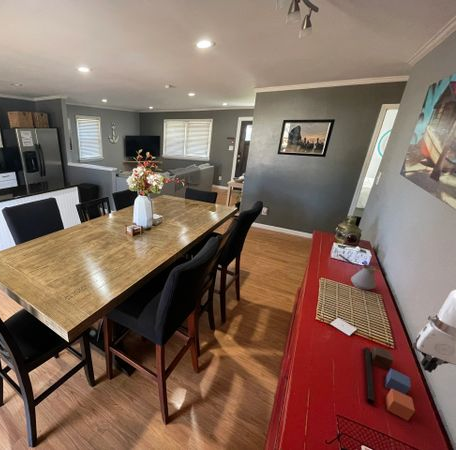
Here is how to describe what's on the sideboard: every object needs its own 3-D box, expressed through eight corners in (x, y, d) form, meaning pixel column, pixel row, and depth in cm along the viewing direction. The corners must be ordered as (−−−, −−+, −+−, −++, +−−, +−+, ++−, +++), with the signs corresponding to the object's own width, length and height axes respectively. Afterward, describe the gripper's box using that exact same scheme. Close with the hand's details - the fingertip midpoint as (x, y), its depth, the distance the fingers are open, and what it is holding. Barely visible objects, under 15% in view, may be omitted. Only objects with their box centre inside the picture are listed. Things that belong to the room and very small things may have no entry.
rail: (368, 352, 99) (370, 348, 98) (372, 405, 80) (374, 401, 79) (363, 350, 100) (365, 346, 99) (366, 402, 80) (369, 398, 80)
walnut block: (385, 360, 96) (390, 351, 94) (388, 370, 92) (393, 360, 90) (369, 354, 98) (374, 345, 96) (371, 363, 94) (376, 354, 92)
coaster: (357, 328, 110) (357, 327, 110) (349, 335, 106) (349, 334, 106) (338, 317, 117) (338, 316, 116) (329, 323, 113) (330, 322, 112)
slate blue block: (403, 387, 86) (410, 377, 84) (404, 397, 82) (410, 387, 80) (385, 377, 89) (390, 368, 87) (385, 387, 85) (390, 377, 84)
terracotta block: (405, 407, 79) (412, 397, 77) (408, 421, 76) (415, 411, 74) (385, 397, 82) (391, 388, 80) (387, 410, 78) (393, 400, 76)
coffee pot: (375, 286, 141) (385, 265, 135) (372, 294, 134) (382, 272, 128) (333, 271, 155) (340, 250, 150) (328, 277, 148) (335, 256, 142)
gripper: (420, 322, 76) (397, 363, 83) (495, 347, 67) (463, 391, 74) (416, 309, 81) (395, 349, 88) (485, 331, 73) (456, 373, 80)
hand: (426, 368), depth 81 cm, fingers closed
